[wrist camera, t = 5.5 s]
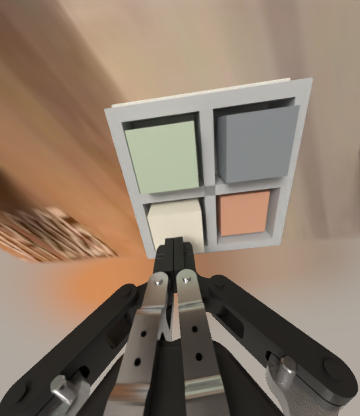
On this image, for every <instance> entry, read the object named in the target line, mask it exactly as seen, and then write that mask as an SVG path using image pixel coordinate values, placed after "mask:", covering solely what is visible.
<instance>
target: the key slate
mask: <svg viewBox="0 0 360 416" xmlns="http://www.w3.org/2000/svg"><path fill="white" fill-rule="evenodd" d="M299 109H300V105H295V106H288V107H282V108H275V109H268V110H261V111H254V112H247V113H240V114H233V115H226V116H221V117H216V125H217V171H218V174H219V175H220V176H221V177H222V179H223V180H224V181H225V182H226V183H234V182H242V181H250V180H258V179H266V178H274V177H282V176H288V170H289V164H290V159H291V153H292V148H293V142H294V136H295V131H296V125H297V120H298V114H299Z"/></svg>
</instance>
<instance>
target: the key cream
mask: <svg viewBox="0 0 360 416" xmlns="http://www.w3.org/2000/svg"><path fill="white" fill-rule="evenodd" d="M147 218H148V222H149V226H150V230H151V234H152V238H153V242H154V246H155V250H156V251H157V248H158V247H159V245H165V238H173V237H181V236H183V242H190V243H191V244H192V246H193V254H196V253H204V241H203V228H202V215H201V208H200V205H199V201H198V197H196V198H188V199H180V200H171V201H163V202H155V203H152V204H151V207H150V211H149V214H148V217H147Z"/></svg>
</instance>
